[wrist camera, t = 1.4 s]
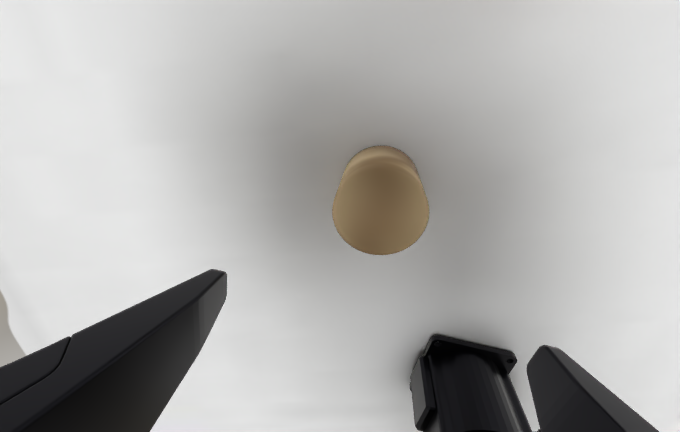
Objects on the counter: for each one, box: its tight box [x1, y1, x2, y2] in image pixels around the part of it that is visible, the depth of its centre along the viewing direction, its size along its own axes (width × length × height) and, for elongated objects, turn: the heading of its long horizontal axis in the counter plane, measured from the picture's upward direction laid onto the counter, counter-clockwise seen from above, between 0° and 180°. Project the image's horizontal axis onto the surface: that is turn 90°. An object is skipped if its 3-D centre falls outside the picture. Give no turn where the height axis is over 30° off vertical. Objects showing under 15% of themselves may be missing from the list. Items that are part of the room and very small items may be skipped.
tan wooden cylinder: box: [332, 146, 429, 255], centre depth 16 cm, size 5×5×4 cm
